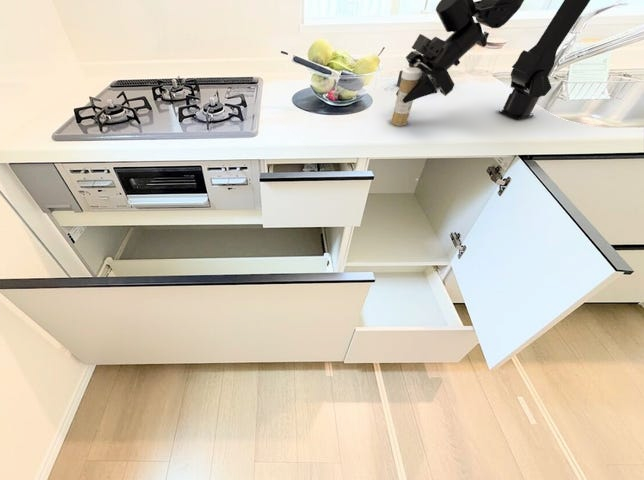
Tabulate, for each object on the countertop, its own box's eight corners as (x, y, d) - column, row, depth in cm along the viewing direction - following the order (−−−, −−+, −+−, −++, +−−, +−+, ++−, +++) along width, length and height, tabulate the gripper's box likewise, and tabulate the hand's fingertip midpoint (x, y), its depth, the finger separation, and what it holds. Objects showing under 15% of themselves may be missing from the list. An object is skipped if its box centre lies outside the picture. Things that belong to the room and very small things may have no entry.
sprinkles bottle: (396, 118, 95) (410, 65, 85) (410, 123, 92) (425, 69, 82) (387, 122, 93) (399, 69, 83) (400, 127, 91) (414, 73, 81)
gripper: (423, 12, 82) (372, 65, 89) (461, 28, 69) (397, 88, 77) (442, 48, 88) (393, 94, 96) (479, 68, 76) (419, 120, 83)
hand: (399, 98), depth 88 cm, fingers closed on sprinkles bottle, 4 cm apart
